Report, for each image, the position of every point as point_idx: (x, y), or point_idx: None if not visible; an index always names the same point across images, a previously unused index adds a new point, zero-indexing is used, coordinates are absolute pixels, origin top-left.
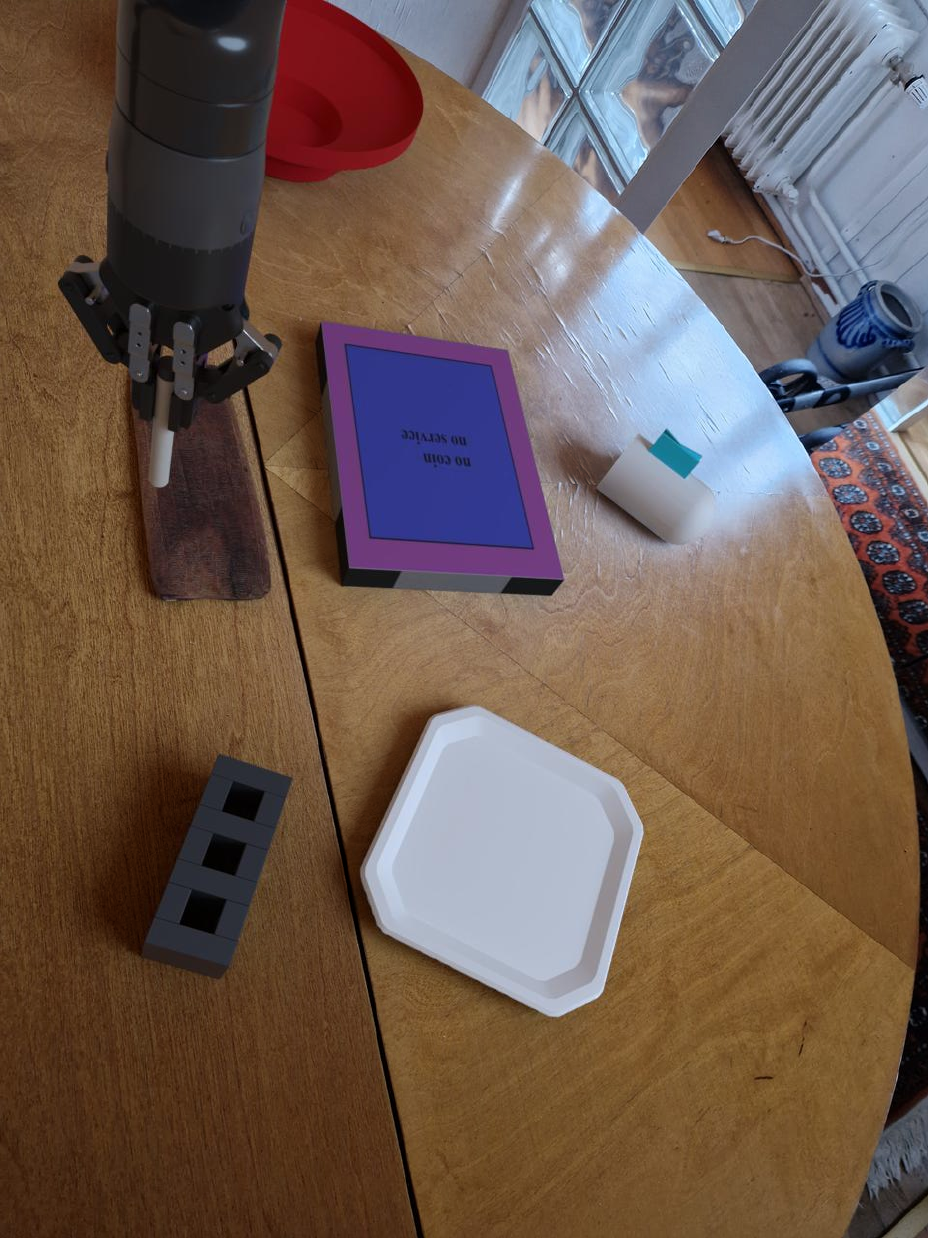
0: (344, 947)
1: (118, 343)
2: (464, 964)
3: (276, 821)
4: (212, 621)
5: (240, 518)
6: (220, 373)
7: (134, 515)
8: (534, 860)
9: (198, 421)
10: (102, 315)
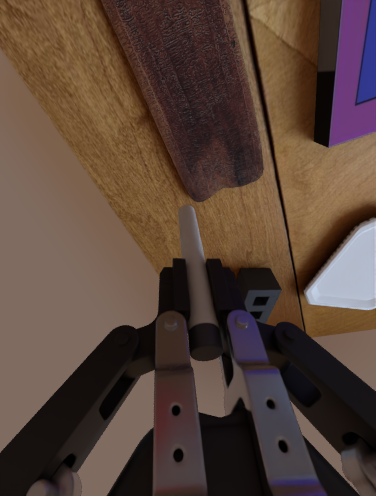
0: (292, 300)
1: (130, 378)
2: (339, 306)
3: (274, 303)
4: (227, 199)
5: (236, 117)
6: (287, 360)
7: (157, 137)
8: None
9: None
10: (92, 439)
